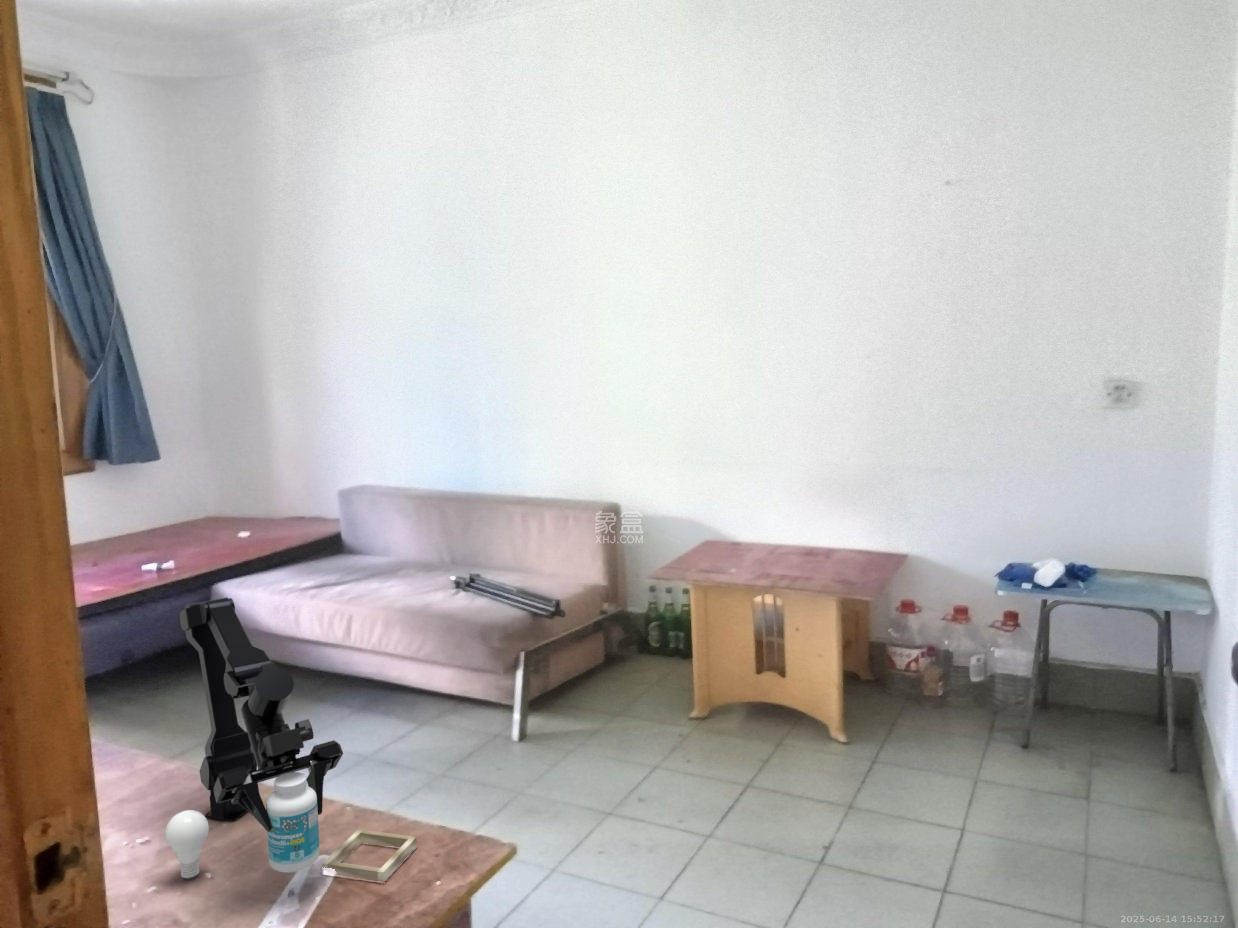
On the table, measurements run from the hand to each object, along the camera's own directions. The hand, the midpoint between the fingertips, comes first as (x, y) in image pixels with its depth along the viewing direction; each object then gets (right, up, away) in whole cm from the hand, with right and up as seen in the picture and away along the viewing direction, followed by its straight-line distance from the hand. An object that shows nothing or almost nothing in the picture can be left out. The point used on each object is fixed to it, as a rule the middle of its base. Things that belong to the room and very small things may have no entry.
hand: (295, 821), depth 141 cm
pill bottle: (-1, -7, +2) cm, 7 cm away
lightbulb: (-20, -12, +7) cm, 24 cm away
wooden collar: (+8, -11, +11) cm, 18 cm away
